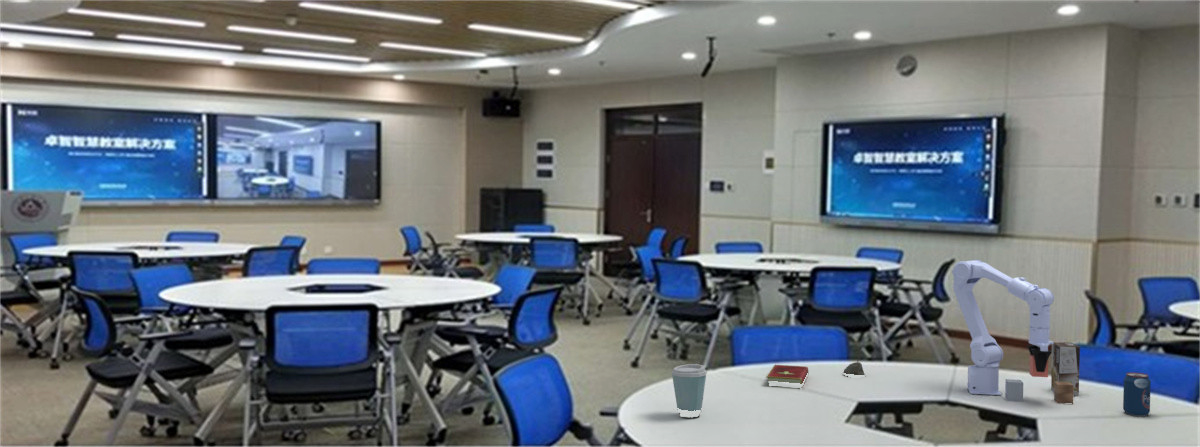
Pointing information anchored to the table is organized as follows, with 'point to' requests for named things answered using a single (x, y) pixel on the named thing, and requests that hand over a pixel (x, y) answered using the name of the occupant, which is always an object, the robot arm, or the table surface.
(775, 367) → the hardcover book
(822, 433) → the table surface
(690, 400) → the disposable coffee cup
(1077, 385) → the coffee box
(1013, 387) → the grey block
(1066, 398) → the walnut block
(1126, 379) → the soda can
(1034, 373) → the red block
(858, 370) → the sword in stone
